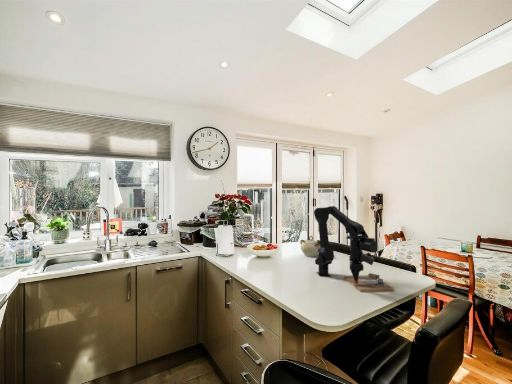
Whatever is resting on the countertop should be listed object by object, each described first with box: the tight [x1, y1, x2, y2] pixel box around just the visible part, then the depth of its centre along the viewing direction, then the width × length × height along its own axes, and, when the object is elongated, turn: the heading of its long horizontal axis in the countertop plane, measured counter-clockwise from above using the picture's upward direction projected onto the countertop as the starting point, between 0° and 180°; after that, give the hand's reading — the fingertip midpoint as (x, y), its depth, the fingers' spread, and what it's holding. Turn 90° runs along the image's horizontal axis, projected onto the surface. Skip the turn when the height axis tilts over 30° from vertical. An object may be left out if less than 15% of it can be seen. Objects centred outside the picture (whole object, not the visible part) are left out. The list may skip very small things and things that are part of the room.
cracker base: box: [343, 272, 395, 293], centre depth 133 cm, size 20×17×4 cm
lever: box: [353, 277, 384, 284], centre depth 129 cm, size 15×3×6 cm, turn 88°
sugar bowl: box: [299, 235, 321, 257], centre depth 193 cm, size 20×15×15 cm
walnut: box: [368, 273, 376, 280], centre depth 135 cm, size 4×4×4 cm
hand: (355, 278), depth 129 cm, fingers open, 6 cm apart
